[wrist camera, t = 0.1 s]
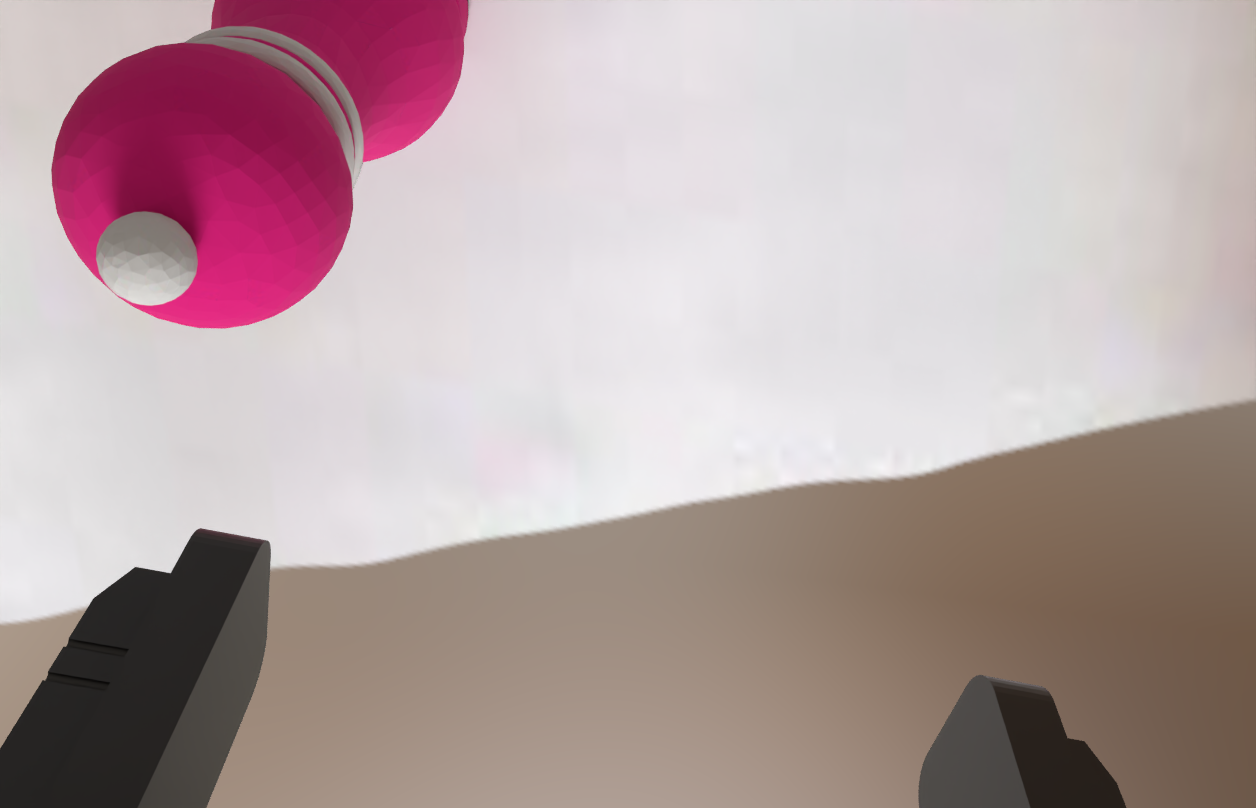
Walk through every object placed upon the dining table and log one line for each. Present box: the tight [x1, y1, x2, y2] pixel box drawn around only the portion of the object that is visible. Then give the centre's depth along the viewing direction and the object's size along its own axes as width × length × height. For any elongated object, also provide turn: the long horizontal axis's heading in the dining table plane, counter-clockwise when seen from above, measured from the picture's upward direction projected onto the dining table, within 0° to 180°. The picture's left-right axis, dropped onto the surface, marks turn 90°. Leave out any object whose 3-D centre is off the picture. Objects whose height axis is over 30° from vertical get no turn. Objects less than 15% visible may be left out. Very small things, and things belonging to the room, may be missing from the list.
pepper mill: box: [52, 0, 468, 328], centre depth 28 cm, size 7×7×20 cm
